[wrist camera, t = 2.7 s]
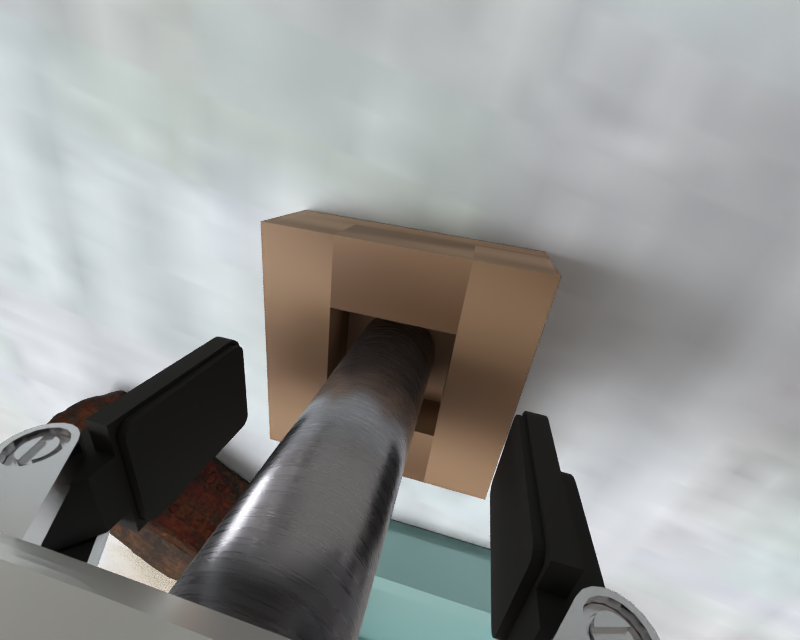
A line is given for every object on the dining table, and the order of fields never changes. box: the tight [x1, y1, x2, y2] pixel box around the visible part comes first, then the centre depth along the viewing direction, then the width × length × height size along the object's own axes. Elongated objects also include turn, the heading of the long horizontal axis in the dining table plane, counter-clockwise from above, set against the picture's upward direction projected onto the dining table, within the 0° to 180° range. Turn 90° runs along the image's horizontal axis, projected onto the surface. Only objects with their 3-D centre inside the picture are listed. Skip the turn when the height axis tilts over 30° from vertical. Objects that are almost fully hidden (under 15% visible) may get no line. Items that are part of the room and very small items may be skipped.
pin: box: [169, 318, 435, 640], centre depth 9 cm, size 3×3×10 cm
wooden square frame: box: [261, 210, 561, 499], centre depth 13 cm, size 9×9×3 cm
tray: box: [358, 520, 498, 640], centre depth 21 cm, size 13×13×3 cm
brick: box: [47, 391, 250, 580], centre depth 20 cm, size 11×4×5 cm, turn 53°
